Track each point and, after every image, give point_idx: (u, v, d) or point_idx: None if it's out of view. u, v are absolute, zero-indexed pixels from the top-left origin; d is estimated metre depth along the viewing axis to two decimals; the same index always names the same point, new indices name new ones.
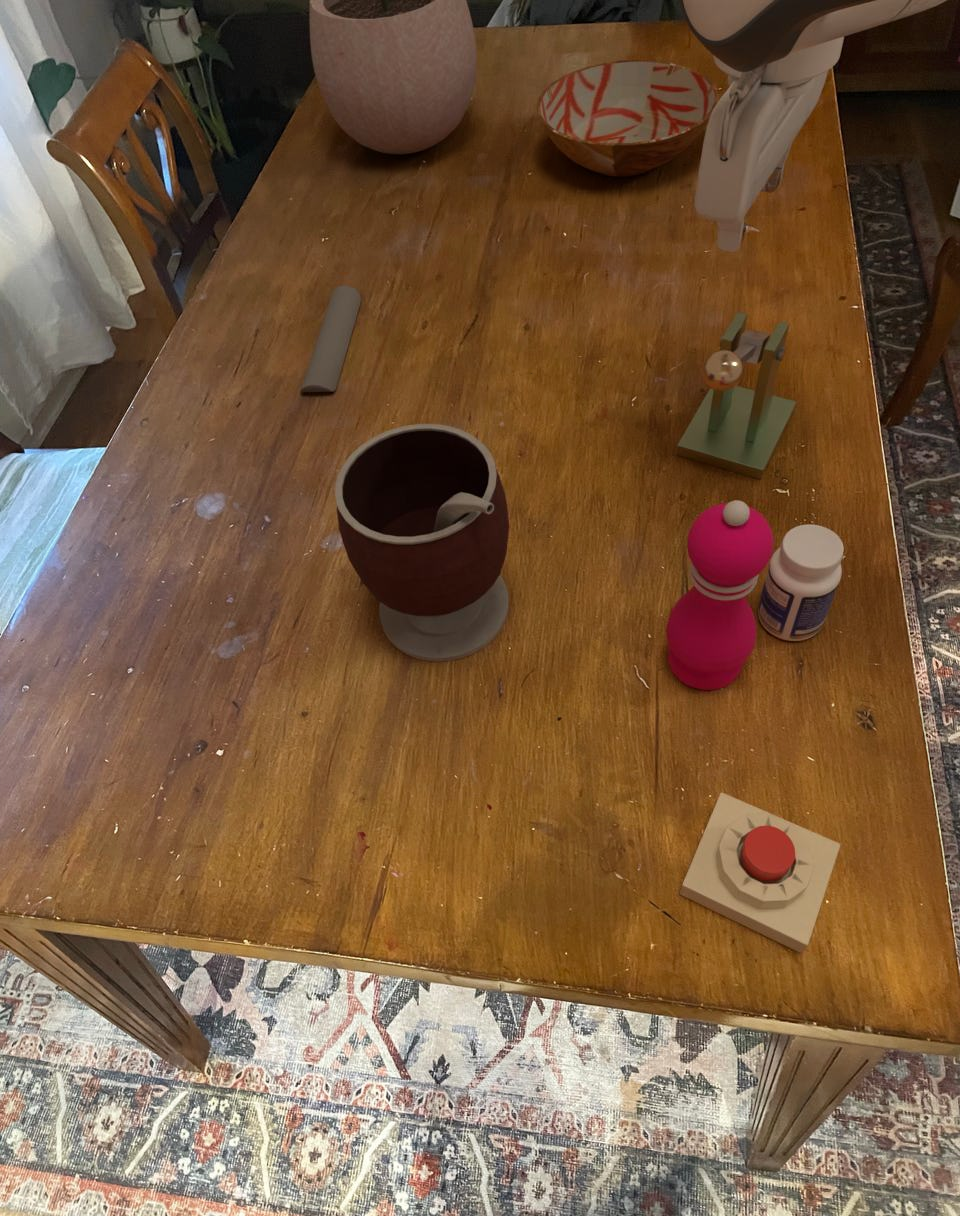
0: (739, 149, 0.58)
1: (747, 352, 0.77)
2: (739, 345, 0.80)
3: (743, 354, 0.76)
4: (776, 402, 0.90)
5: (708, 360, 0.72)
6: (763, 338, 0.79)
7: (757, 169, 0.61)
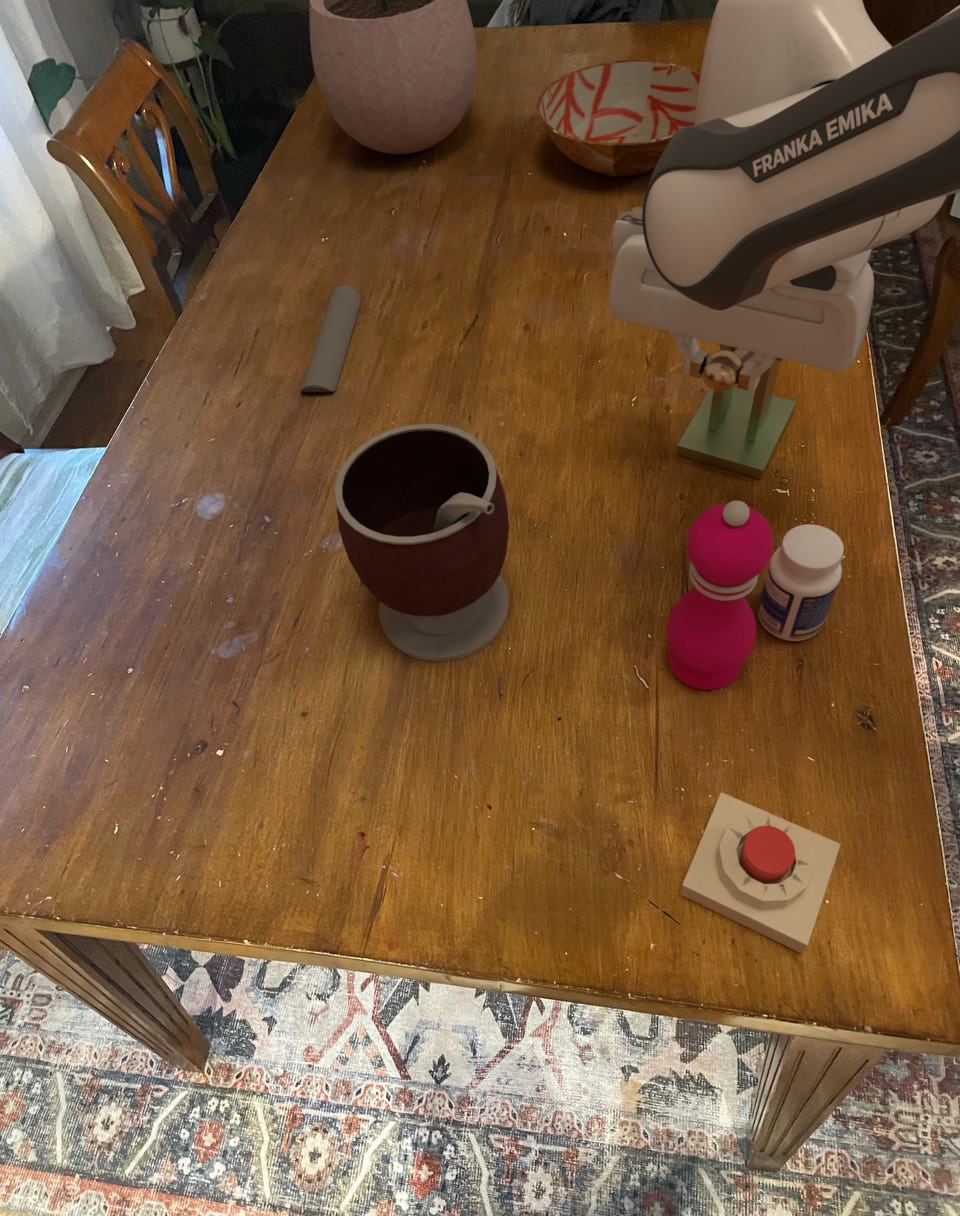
0: None
1: (747, 352, 0.77)
2: None
3: (743, 354, 0.76)
4: (776, 402, 0.90)
5: (708, 360, 0.72)
6: None
7: (640, 294, 0.69)
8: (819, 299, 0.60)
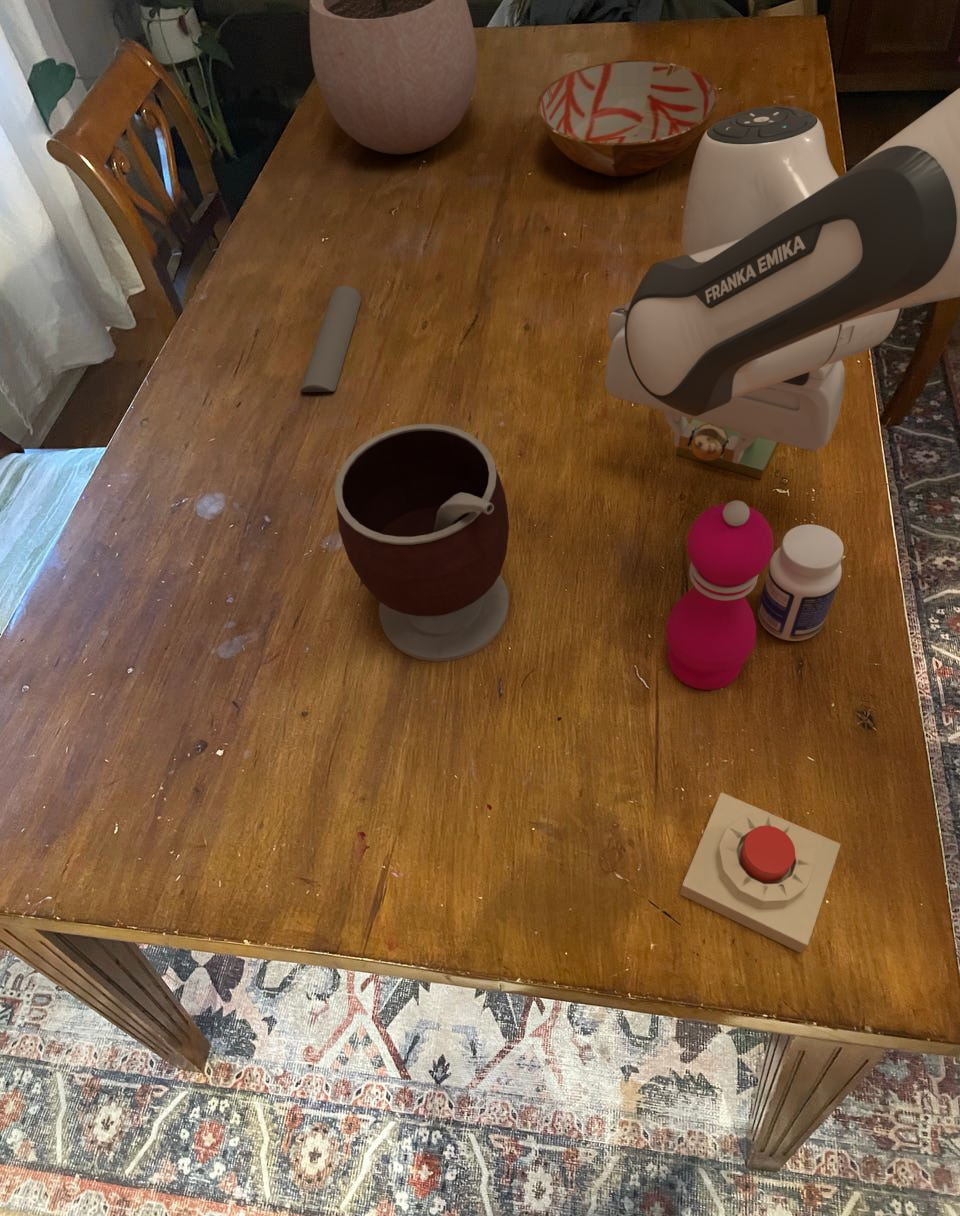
0: None
1: None
2: None
3: None
4: None
5: (693, 443, 0.78)
6: None
7: (633, 377, 0.75)
8: (794, 391, 0.67)
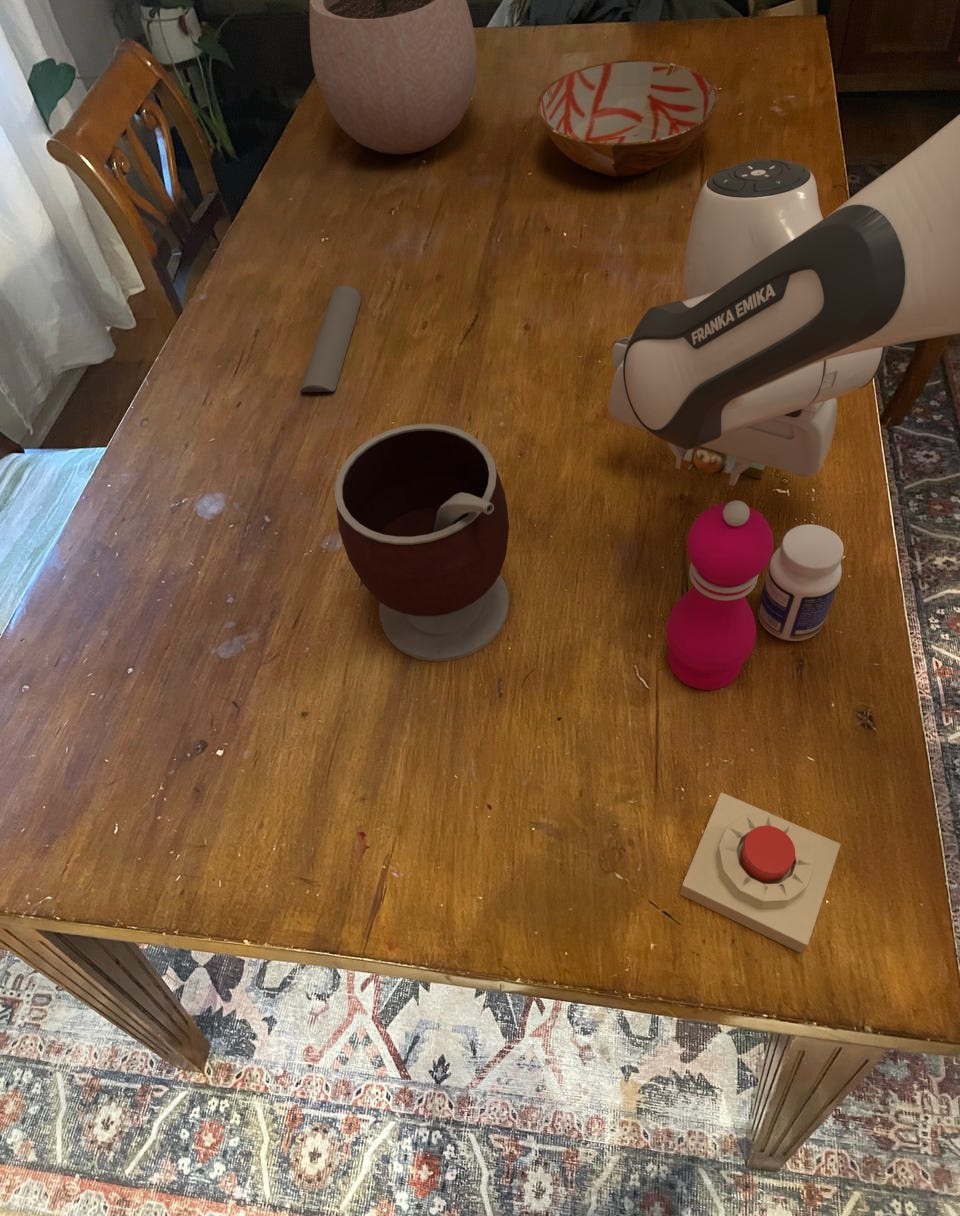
0: None
1: None
2: None
3: None
4: None
5: (694, 458, 0.81)
6: None
7: None
8: (789, 422, 0.70)
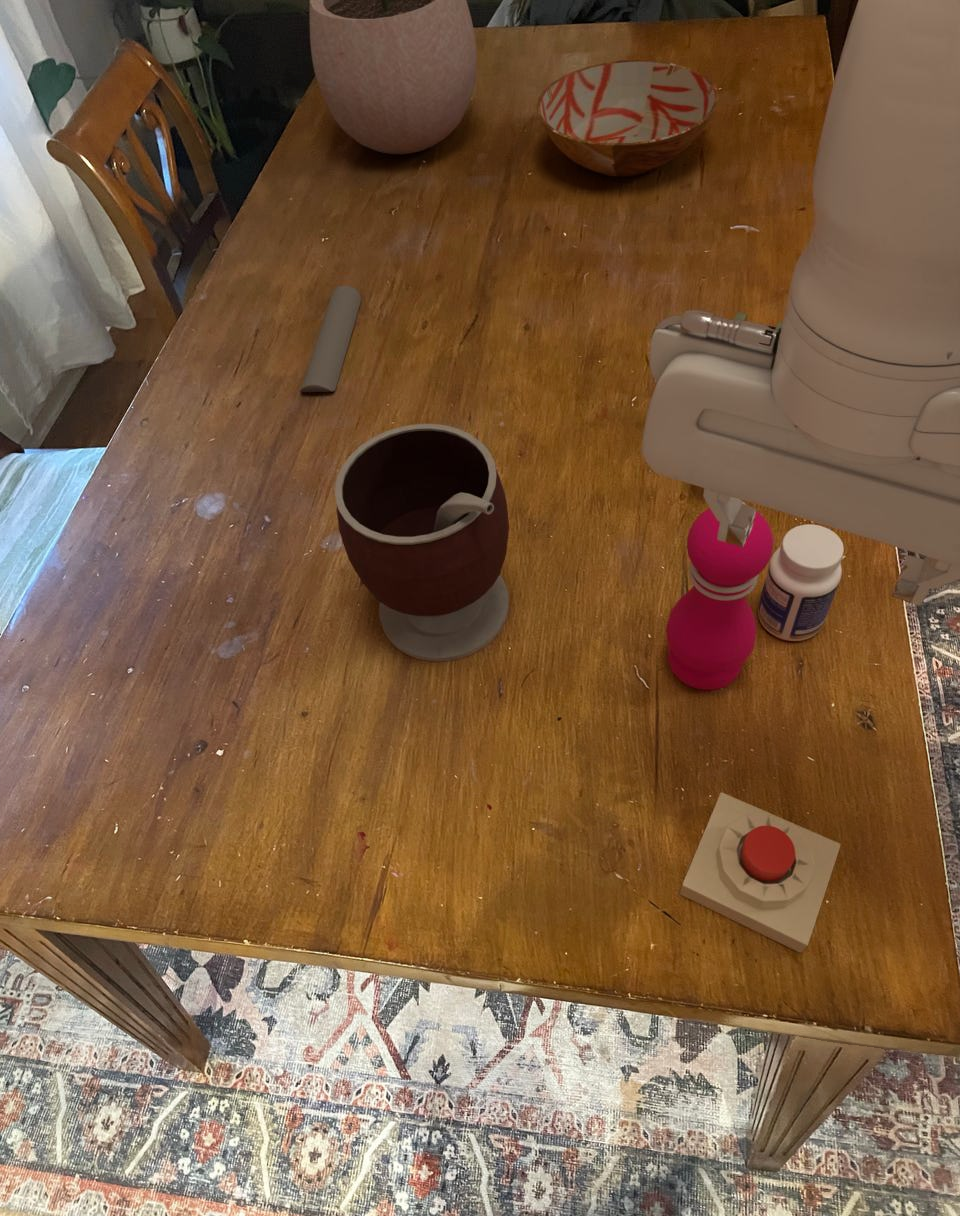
0: None
1: None
2: None
3: None
4: None
5: None
6: None
7: (694, 444, 0.42)
8: None
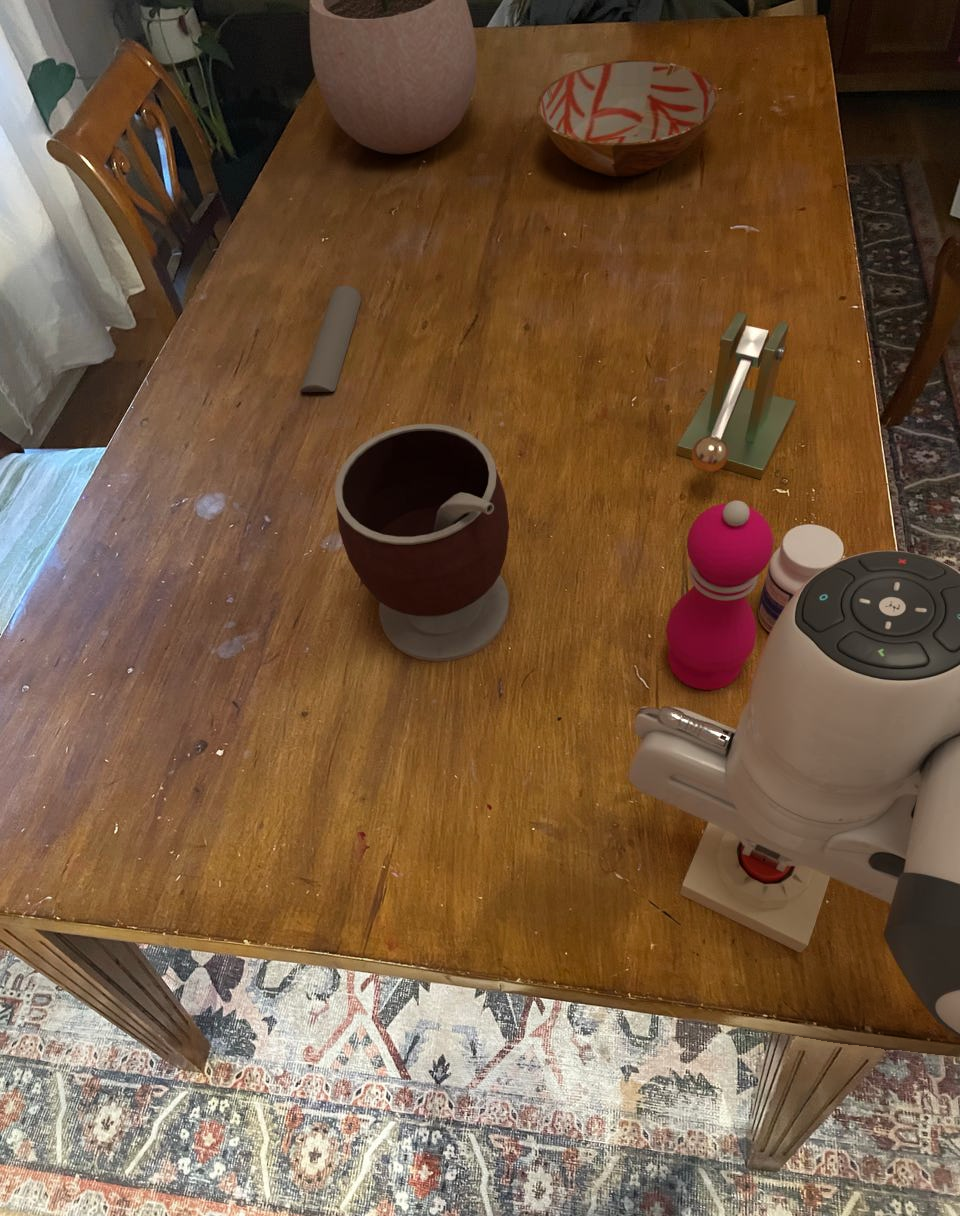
0: (641, 743, 0.54)
1: (739, 391, 0.80)
2: (737, 357, 0.81)
3: (734, 402, 0.80)
4: (776, 402, 0.90)
5: (694, 458, 0.81)
6: (757, 354, 0.79)
7: (669, 786, 0.55)
8: None
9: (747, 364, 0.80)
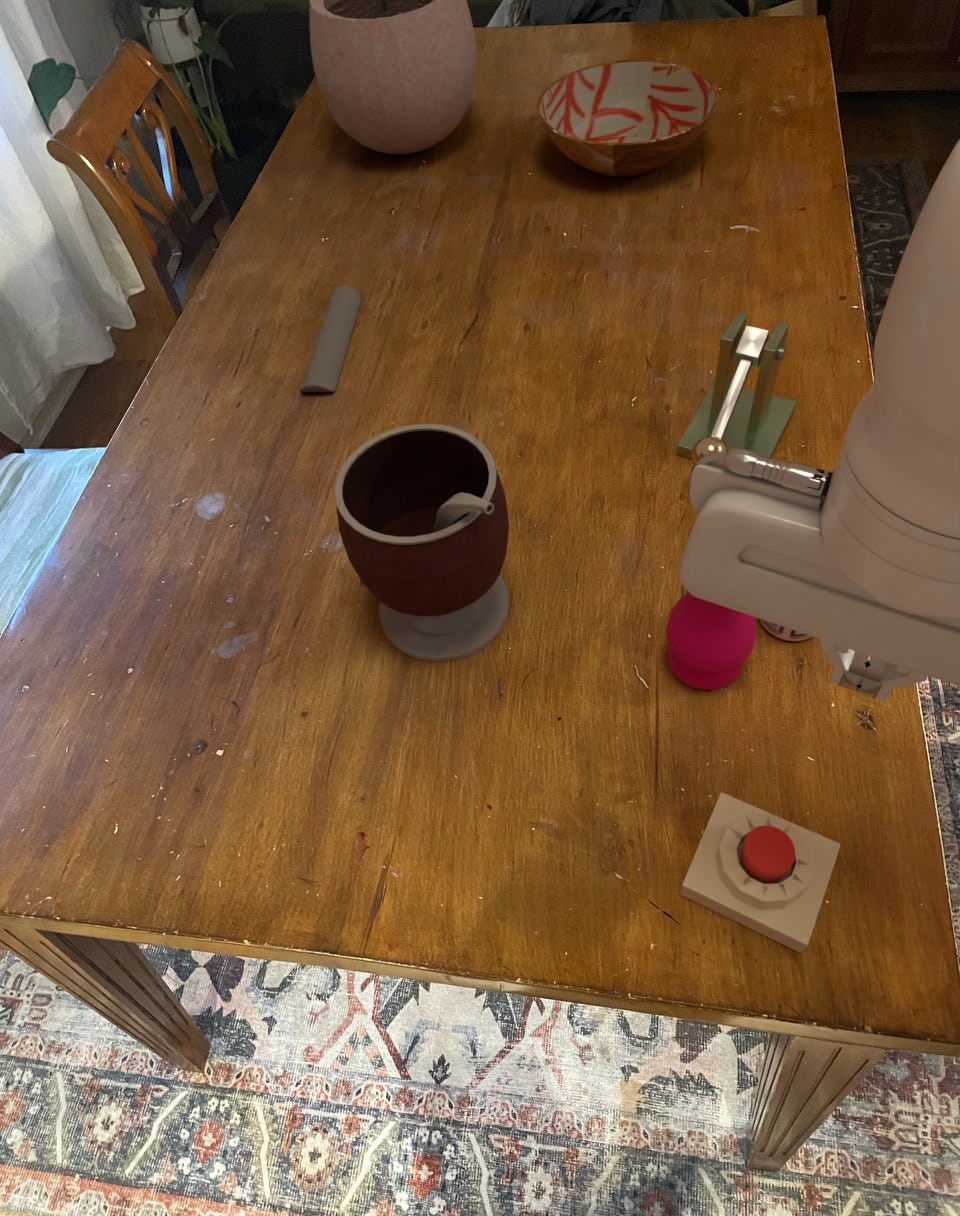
0: None
1: (739, 391, 0.80)
2: (737, 357, 0.81)
3: (734, 402, 0.80)
4: (776, 402, 0.90)
5: (694, 458, 0.81)
6: (757, 354, 0.79)
7: (736, 575, 0.41)
8: None
9: (747, 364, 0.80)
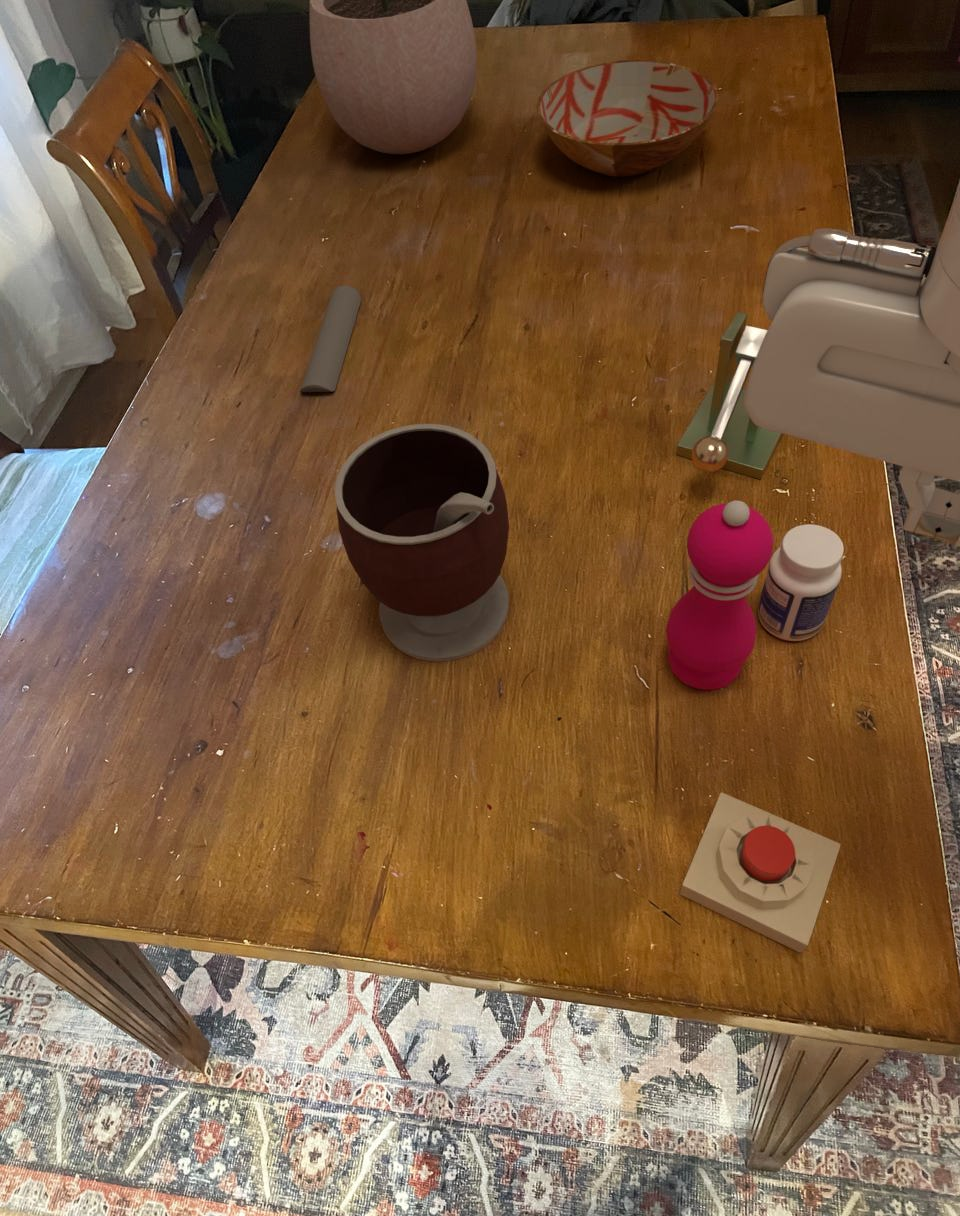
0: None
1: (739, 391, 0.80)
2: (737, 357, 0.81)
3: (734, 402, 0.80)
4: None
5: (694, 458, 0.81)
6: None
7: (812, 389, 0.37)
8: None
9: (747, 364, 0.80)
